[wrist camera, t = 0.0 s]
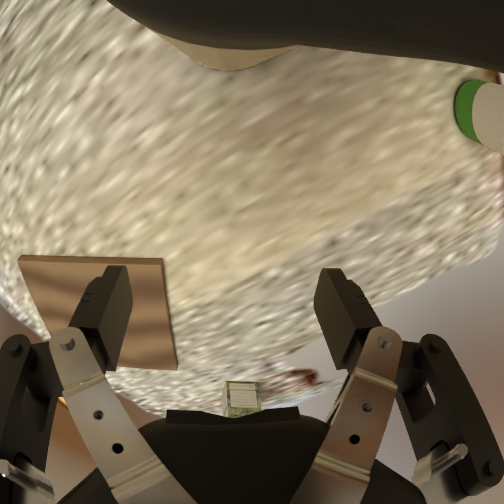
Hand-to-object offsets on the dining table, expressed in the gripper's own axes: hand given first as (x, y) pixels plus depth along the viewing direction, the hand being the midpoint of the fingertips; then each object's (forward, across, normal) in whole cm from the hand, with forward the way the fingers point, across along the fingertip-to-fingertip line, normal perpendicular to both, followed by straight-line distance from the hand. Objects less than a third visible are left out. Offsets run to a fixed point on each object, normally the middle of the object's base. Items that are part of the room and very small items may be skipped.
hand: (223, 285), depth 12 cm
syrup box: (+19, -4, +38) cm, 43 cm away
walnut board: (+18, +16, +20) cm, 31 cm away
